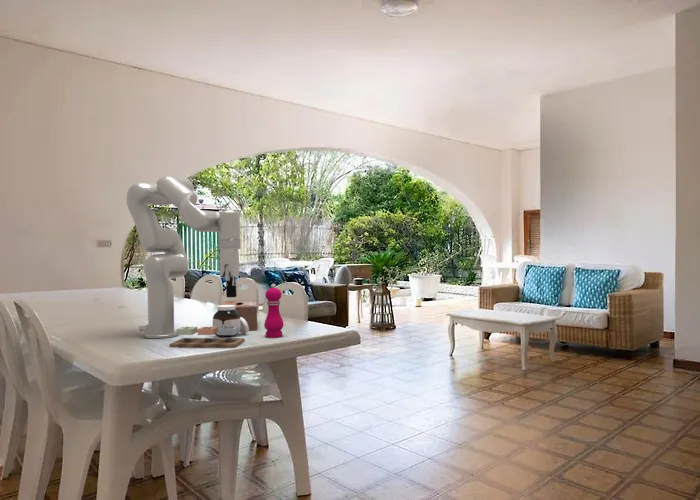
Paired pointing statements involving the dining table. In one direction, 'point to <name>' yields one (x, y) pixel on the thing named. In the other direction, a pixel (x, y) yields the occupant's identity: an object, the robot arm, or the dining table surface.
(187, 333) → the tile
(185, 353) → the dining table surface
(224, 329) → the tile
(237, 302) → the tissue box cover
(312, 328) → the dining table surface
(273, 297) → the pepper mill
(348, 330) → the dining table surface
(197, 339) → the board
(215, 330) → the tile
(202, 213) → the robot arm
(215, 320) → the spread jar
